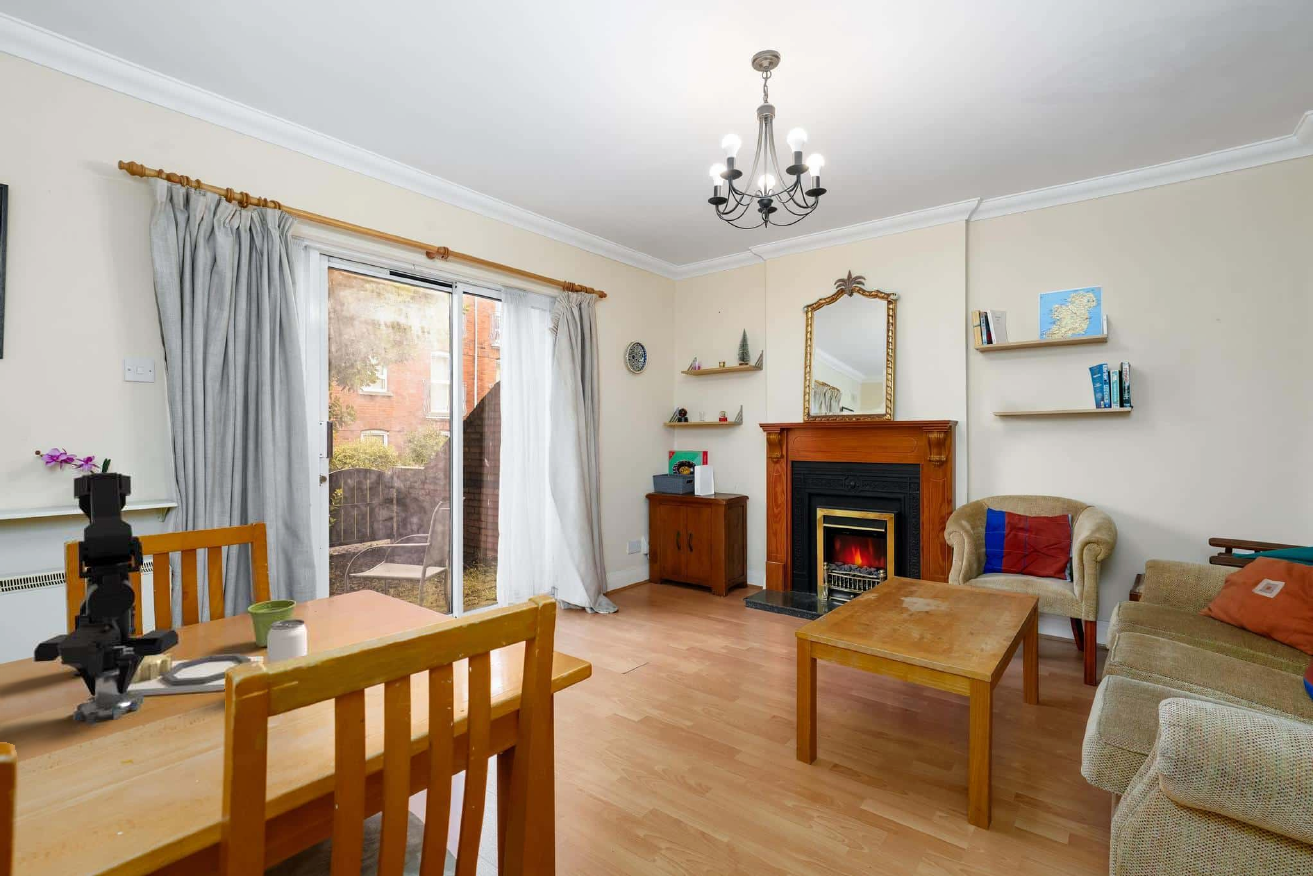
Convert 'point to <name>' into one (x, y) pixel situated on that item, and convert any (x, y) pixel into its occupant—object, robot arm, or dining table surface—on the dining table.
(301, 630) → the can
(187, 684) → the plate
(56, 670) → the dining table surface
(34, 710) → the dining table surface
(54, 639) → the robot arm
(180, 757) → the dining table surface
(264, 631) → the plant pot
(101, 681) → the planet gear
